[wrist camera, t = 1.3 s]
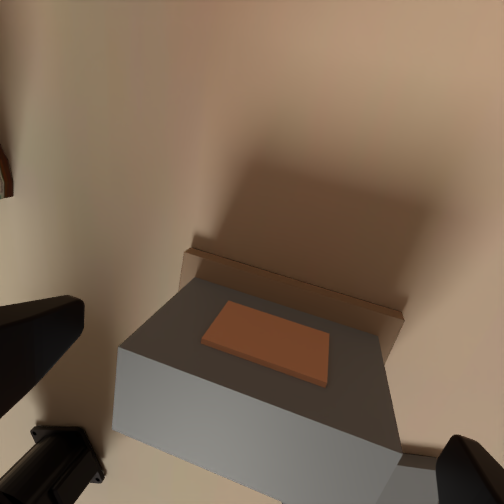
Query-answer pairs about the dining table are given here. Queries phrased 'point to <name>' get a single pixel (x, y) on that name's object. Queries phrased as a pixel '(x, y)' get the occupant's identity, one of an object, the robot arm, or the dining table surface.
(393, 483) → the mat
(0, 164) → the food container
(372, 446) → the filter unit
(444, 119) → the dining table surface
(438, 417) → the dining table surface
